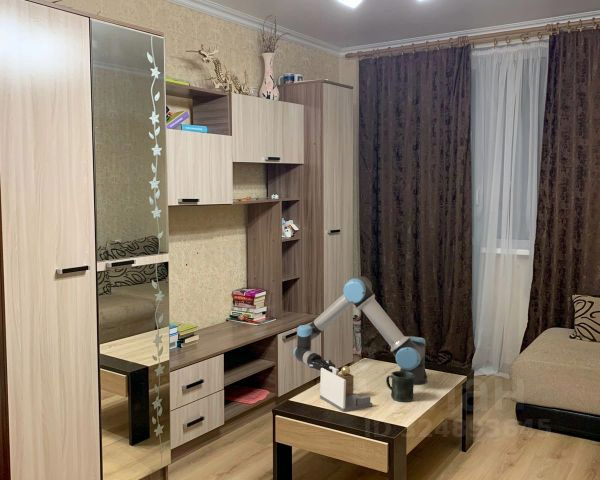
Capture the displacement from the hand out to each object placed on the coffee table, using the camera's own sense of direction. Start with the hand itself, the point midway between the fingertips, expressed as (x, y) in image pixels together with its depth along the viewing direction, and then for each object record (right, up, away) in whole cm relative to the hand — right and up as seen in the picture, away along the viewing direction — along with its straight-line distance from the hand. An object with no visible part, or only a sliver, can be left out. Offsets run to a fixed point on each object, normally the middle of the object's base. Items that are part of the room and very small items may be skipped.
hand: (337, 372), depth 299 cm
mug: (+29, -11, -4) cm, 32 cm away
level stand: (+3, -11, -12) cm, 17 cm away
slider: (+3, -9, -5) cm, 11 cm away
